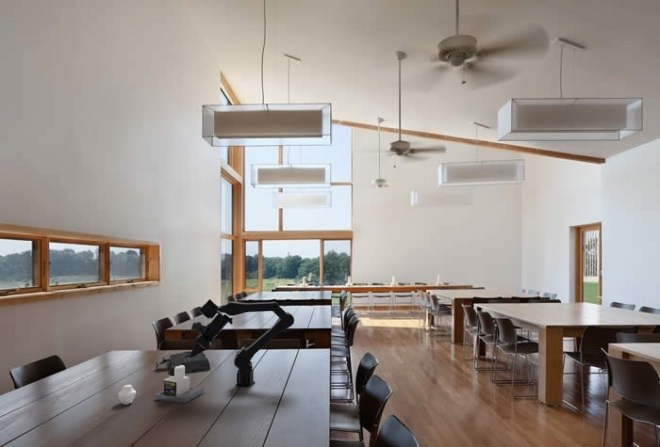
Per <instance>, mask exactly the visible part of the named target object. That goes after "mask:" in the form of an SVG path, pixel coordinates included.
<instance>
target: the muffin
mask: <svg viewBox="0 0 660 447" xmlns="http://www.w3.org/2000/svg"><path fill="white" fill-rule="evenodd" d="M136 395H137V391H136V389H134V387H133V385H132V384H126V385H123V386H122V389H121V390H120V391H119V392H118V397H119V398H118V399H119V400H120V402H121V404H122V405H130V404H132V403H133V401H134V398H135V397H136ZM129 403H130V404H129Z"/></svg>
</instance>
